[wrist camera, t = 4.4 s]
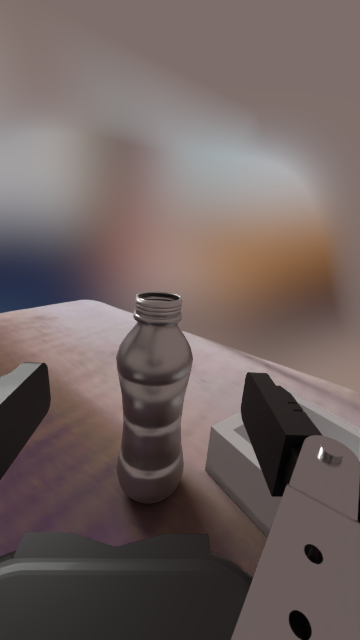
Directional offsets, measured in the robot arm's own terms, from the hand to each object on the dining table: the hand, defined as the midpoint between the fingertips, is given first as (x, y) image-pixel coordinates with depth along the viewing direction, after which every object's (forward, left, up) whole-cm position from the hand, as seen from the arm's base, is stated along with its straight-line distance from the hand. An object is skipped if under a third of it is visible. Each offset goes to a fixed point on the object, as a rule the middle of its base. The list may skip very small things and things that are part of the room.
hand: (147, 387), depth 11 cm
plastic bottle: (+6, +9, -19) cm, 22 cm away
